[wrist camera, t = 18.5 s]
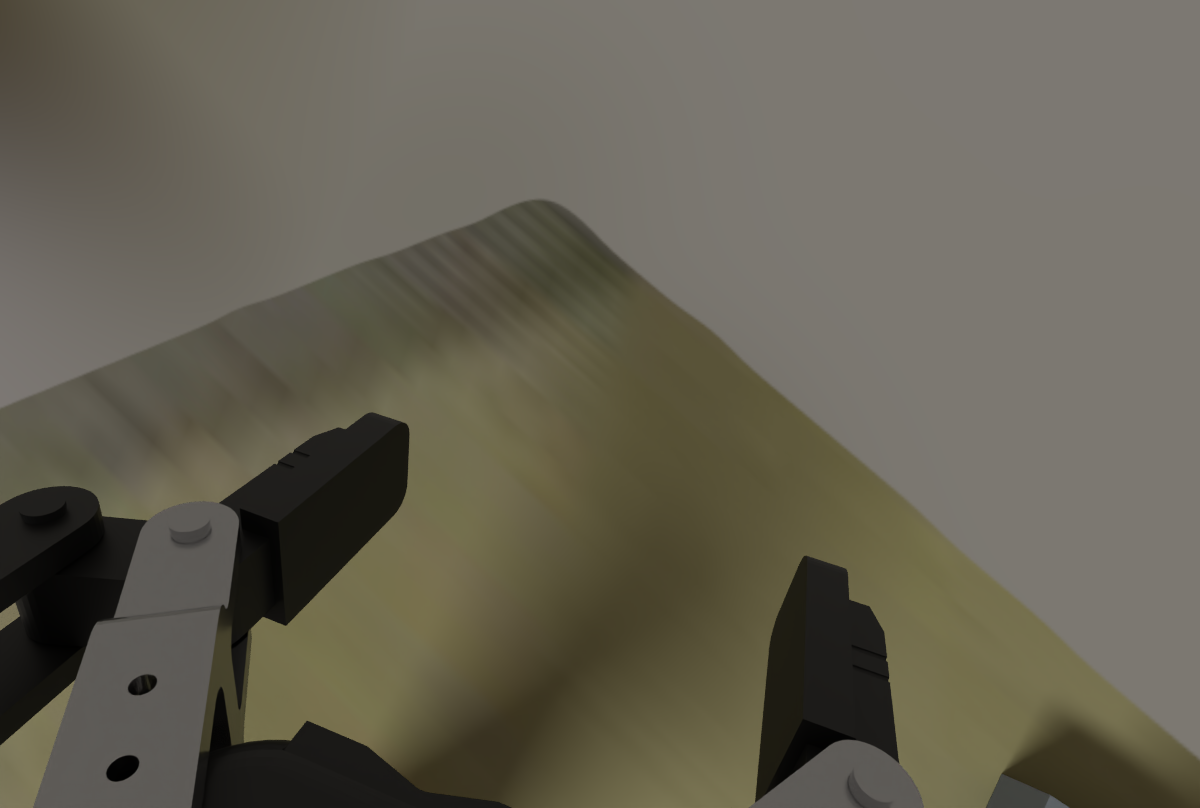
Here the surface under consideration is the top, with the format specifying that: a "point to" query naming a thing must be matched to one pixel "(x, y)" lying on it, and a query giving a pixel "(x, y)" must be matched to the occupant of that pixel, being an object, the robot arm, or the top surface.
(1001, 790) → the tray
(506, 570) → the top surface
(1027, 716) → the top surface
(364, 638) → the top surface
